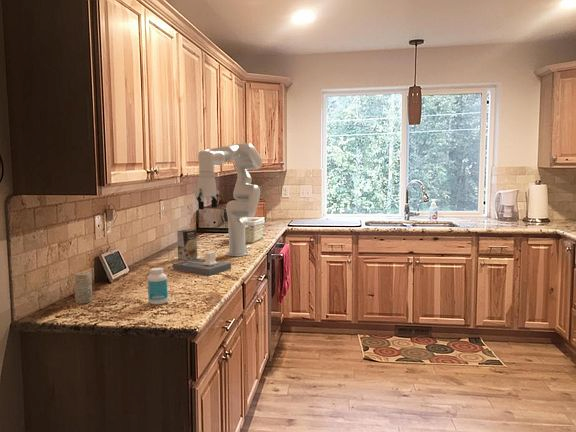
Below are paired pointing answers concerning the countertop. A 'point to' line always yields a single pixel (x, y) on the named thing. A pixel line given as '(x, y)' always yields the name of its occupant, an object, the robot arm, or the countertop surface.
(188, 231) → the coffee box
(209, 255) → the fader
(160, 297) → the pill bottle
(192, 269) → the console
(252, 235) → the storage basket
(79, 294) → the grey cylinder
